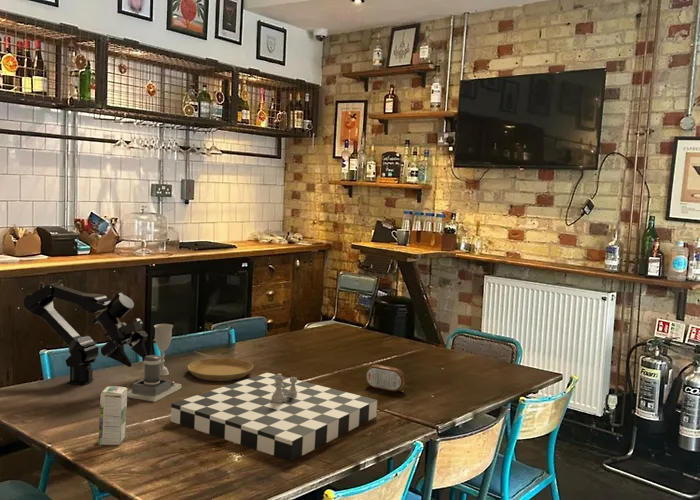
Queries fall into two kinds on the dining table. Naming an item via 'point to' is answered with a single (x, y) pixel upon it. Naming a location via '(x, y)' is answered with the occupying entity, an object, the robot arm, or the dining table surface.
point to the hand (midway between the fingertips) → (139, 362)
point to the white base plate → (152, 390)
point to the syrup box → (112, 415)
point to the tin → (385, 377)
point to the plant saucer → (220, 369)
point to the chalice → (163, 342)
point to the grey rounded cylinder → (152, 370)
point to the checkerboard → (275, 414)
